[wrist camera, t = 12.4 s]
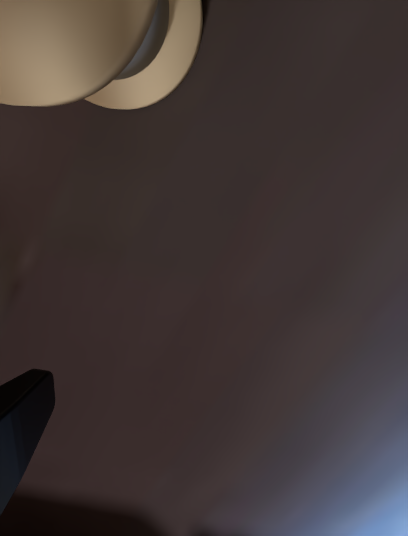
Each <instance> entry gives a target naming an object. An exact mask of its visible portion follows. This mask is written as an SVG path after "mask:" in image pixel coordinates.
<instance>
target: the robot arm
mask: <svg viewBox="0 0 408 536" xmlns="http://www.w3.org/2000/svg"><path fill="white" fill-rule="evenodd" d="M54 406H55V391H54V379H53V374H52V373H51V372H50V371H46V370H40V369H31V370H29V371H27V372H25V373H23V374H22V375H20V376H18V377H16V378H14V379H12V380H10V381H8V382H6V383H5V384H3V385H1V386H0V515H1V514H2V512H3V510H4V508H5V507H6V505H7V503H8V502H9V500H10V498H11V496H12V495H13V493H14V491H15V489H16V488H17V486H18V484H19V482H20V480H21V478H22V476H23V474H24V472H25V470H26V468H27V466H28V464H29V462H30V460H31V457H32V455H33V453H34V451H35V449H36V447H37V444H38V442H39V440H40V438H41V436H42V433H43V431H44V429H45V427H46V425H47V423H48V420H49V418H50V416H51V414H52V412H53V409H54Z"/></svg>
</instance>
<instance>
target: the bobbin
mask: <svg viewBox="0 0 408 536" xmlns="http://www.w3.org/2000/svg"><path fill="white" fill-rule="evenodd" d="M202 28H203V10H202V0H0V103H3V104H9V105H21V106H48V107H49V106H58V105H66V104H69V103H73V102H76V101H80V100H82V99H86V100H88V101H90V102H92V103H94V104H97V105H100V106H103V107H107V108H112V109H139V108H144V107H147V106H151V105H153V104H155V103H158V102H159V101H161V100H163V99H164V98H166V97H167V96H169V95H170V94H171V93H172V92H173V91H175V90H176V88H177V87H178V86H179V85H180V84H181V83H182V82H183V80H184V79H185V77H186V76H187V75H188V73H189V71H190V69H191V67H192V65H193V63H194V61H195V58H196V56H197V53H198V49H199V46H200V42H201V36H202Z"/></svg>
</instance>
